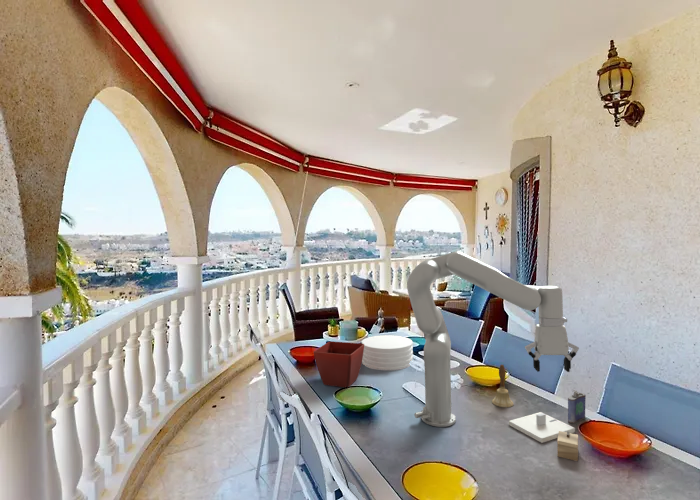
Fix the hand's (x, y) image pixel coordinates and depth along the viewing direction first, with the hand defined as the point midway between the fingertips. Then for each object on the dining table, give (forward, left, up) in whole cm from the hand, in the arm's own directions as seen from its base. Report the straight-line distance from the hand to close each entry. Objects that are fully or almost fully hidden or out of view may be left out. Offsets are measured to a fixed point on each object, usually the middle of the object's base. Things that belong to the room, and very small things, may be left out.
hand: (552, 370), depth 138 cm
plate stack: (-13, +94, -22) cm, 97 cm away
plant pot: (-48, +78, -22) cm, 94 cm away
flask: (+15, +2, -22) cm, 26 cm away
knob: (-8, -12, -21) cm, 26 cm away
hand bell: (+2, +25, -22) cm, 33 cm away
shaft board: (-2, +3, -21) cm, 22 cm away
